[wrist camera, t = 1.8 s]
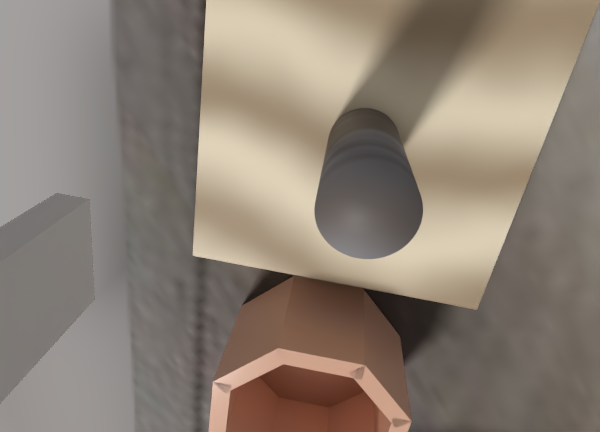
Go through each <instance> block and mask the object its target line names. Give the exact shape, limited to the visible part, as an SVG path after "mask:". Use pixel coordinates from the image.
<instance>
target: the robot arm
mask: <svg viewBox="0 0 600 432" xmlns="http://www.w3.org/2000/svg"><path fill="white" fill-rule="evenodd" d="M94 297H95V296H94V277H93V256H92V237H91V217H90V199H85V198H81V197H75V196H70V195H65V194H59V193H56V194H54V195H53V196H51V197H49V198H48V199H46V200H44V201H43V202H41V203H39V204H38V205H36V206H35V207H33V208H31V209H29V210H28V211H26V212H24V213H23V214H21V215H20V216H18V217H17V218H15V219H13V220H11V221H10V222H8V223H6V224H5V225H3V226H1V227H0V403H1V402H2V401H3V400H4V399H5V398H6V397H7V396H8V394H9V393H10V392H11V391H12V390H13V389H14V388H15V387H16V386H17V385H18V384H19V382H20V381H21V380H22V379H23V378H24V377H25V376H26V375H27V374H28V372H29V371H30V370H31V369H32V368H33V367H34V366H35V365H36V364H37V362H38V361H39V360H40V359H41V358H42V357H43V356H44V355H45V354H46V352H47V351H48V350H49V349H50V348H51V347H52V346H53V345H54V344H55V342H56V341H57V340H58V339H59V338H60V337H61V336H62V335H63V334H64V333H65V331H66V330H67V329H68V328H69V327H70V326H71V325H72V324H73V322H74V321H75V320H76V319H77V318H78V317H79V316H80V315H81V314H82V312H84V310H85V309H86V308H87V307H88V306H89V305H90V304H91V303H92V302H93V300H94V299H95V298H94Z"/></svg>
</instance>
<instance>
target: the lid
mask: <svg viewBox="0 0 600 432" xmlns="http://www.w3.org/2000/svg"><path fill="white" fill-rule="evenodd" d="M599 2H600V0H206V19H205V37H204V56H203V74H202V93H201V112H200V130H199V149H198V167H197V186H196V204H195V223H194V241H193V256H198V257H203V258H208V259H213V260H219V261H224V262H229V263H234V264H240V265H245V266H250V267H255V268H261V269H266V270H271V271H276V272H282V273H287V274H292V275H297V276H303V277H308V278H313V279H319V280H324V281H329V282H334V283H340V284H345V285H350V286H355V287H361V288H366V289H371V290H376V291H382V292H387V293H392V294H397V295H403V296H408V297H413V298H418V299H424V300H429V301H434V302H439V303H445V304H450V305H455V306H460V307H466V308H471V309H476V310H477V308H478V306H479V303H480V301H481V298H482V295H483V293H484V290H485V288H486V285H487V283H488V280H489V278H490V275H491V273H492V270H493V268H494V265H495V263H496V260H497V258H498V255H499V253H500V250H501V248H502V245H503V243H504V240H505V238H506V235H507V233H508V230H509V228H510V225H511V223H512V220H513V218H514V215H515V213H516V210H517V208H518V205H519V203H520V200H521V198H522V195H523V193H524V190H525V188H526V185H527V183H528V180H529V178H530V175H531V173H532V170H533V168H534V165H535V163H536V160H537V158H538V155H539V153H540V150H541V148H542V145H543V143H544V140H545V138H546V135H547V133H548V130H549V128H550V125H551V123H552V120H553V118H554V115H555V113H556V110H557V108H558V105H559V103H560V100H561V98H562V95H563V93H564V90H565V88H566V85H567V83H568V80H569V78H570V75H571V73H572V70H573V68H574V65H575V63H576V60H577V58H578V55H579V53H580V50H581V48H582V45H583V43H584V40H585V38H586V35H587V33H588V30H589V27H590V25H591V22H592V20H593V17H594V15H595V12H596V10H597V7H598V5H599Z"/></svg>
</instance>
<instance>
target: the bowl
mask: <svg viewBox="0 0 600 432" xmlns="http://www.w3.org/2000/svg"><path fill="white" fill-rule="evenodd" d="M411 422H412V419H411V412H410V405H409V398H408V391H407V383H406V376H405V369H404V362H403V355H402V347H401V340H400V336H399V334H398V333H397V332H396V330H395V329H394V328H393V327H392V325H391V324H390V323H389V321H388V320H387V319H386V317H385V316H384V315H383V314H382V312H381V311H380V310H379V308H378V307H377V306H376V305H375V303H374V302H373V301H372V299H371V298H370V297H369V295H368V294H367V293H366V292H365V290H364V289H363V288H358V287H353V286H348V285H343V284H337V283H332V282H327V281H322V280H316V279H311V278H306V277H301V276H295V275H294V276H293V277H291V278H289V279H287V280H286V281H284V282H282V283H280V284H279V285H277V286H275V287H273V288H272V289H270V290H268V291H267V292H265V293H263V294H261V295H260V296H258V297H256V298H254V299H253V300H251V301H249V302H247V303H246V304H244V305H242V307H241V309H240V312H239V315H238V317H237V320H236V322H235V325H234V328H233V330H232V333H231V336H230V338H229V341H228V343H227V346H226V349H225V351H224V354H223V357H222V359H221V362H220V364H219V367H218V370H217V372H216V375H215V378H214V380H213V389H212V400H211V412H210V423H209V432H408V430H409V427H410V424H411Z"/></svg>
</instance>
